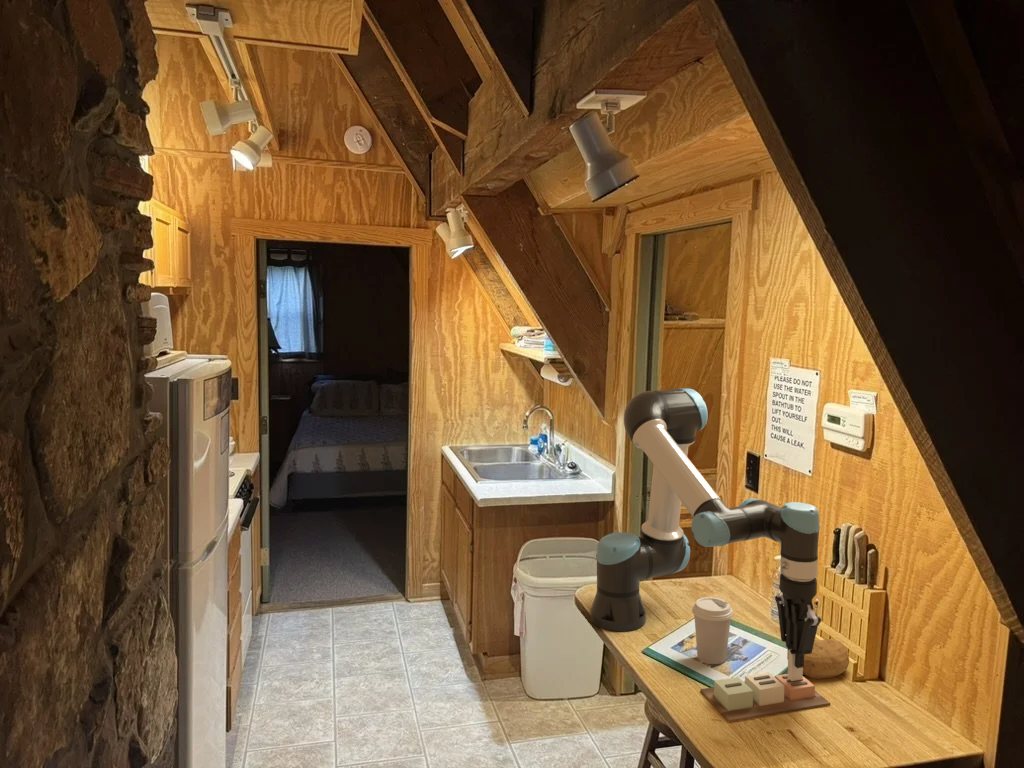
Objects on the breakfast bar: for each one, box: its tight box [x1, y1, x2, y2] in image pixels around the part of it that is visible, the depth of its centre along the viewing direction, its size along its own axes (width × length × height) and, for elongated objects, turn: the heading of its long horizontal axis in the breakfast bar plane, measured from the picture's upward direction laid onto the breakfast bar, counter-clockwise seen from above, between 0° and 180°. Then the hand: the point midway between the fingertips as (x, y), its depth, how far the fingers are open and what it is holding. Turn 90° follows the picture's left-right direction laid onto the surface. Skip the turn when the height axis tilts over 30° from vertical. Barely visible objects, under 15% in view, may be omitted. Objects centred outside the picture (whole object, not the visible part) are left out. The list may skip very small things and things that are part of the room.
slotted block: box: [713, 676, 753, 711], centre depth 152 cm, size 6×6×4 cm
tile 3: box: [774, 673, 816, 701], centre depth 156 cm, size 6×6×4 cm
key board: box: [699, 681, 831, 723], centre depth 154 cm, size 12×24×2 cm, turn 103°
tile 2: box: [744, 672, 784, 706], centre depth 154 cm, size 6×6×4 cm
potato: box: [803, 638, 850, 679], centre depth 165 cm, size 10×14×8 cm
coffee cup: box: [691, 596, 734, 665], centre depth 172 cm, size 10×10×15 cm
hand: (794, 678), depth 156 cm, fingers closed
